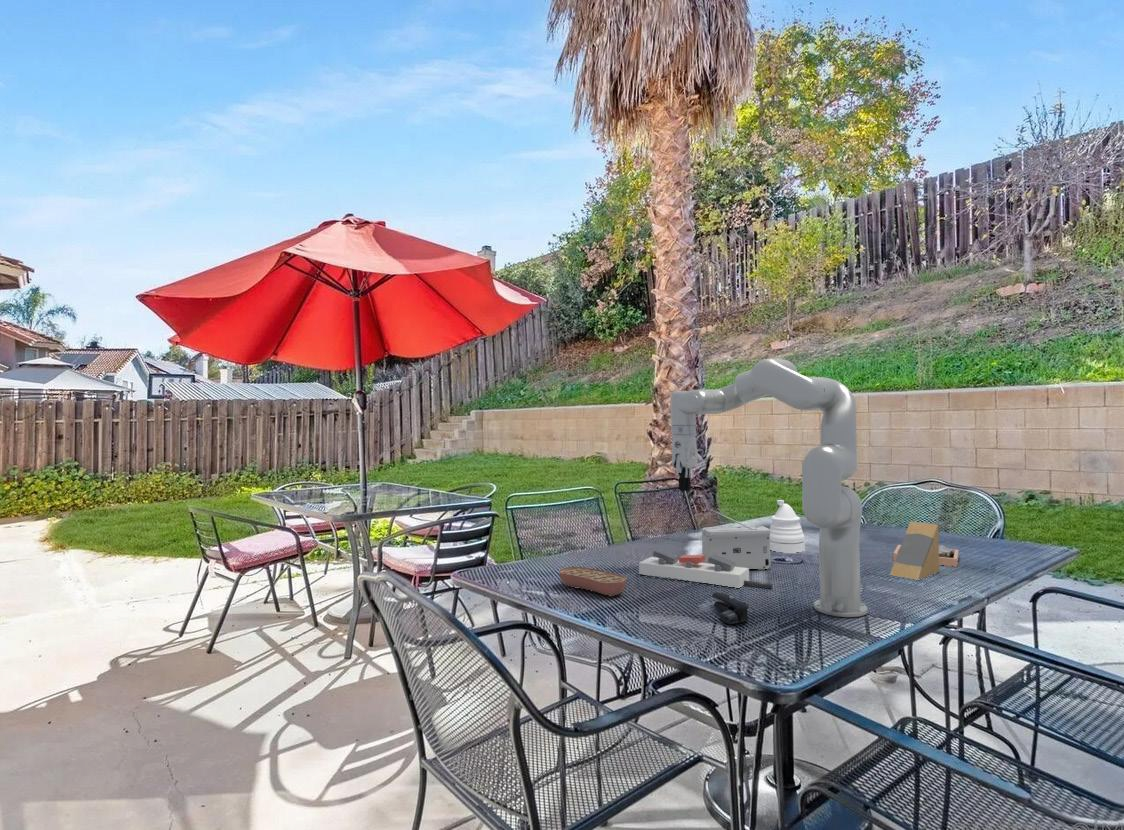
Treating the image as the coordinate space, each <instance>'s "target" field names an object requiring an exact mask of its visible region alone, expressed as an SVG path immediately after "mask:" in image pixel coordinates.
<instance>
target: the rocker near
mask: <svg viewBox="0 0 1124 830" xmlns="http://www.w3.org/2000/svg"><path fill="white" fill-rule="evenodd" d="M708 562H709V563H711V564H714V565H719V566H721V567H722V568H724V569H727V570H729V571H730V570H732V569H733V568H734V567H735V562H732V561H730V560H727V559H725V558H722V557H719V556H717V555H714V554H713V555H712V556H710V557H709V559H708Z"/></svg>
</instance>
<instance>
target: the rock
mask: <svg viewBox="0 0 1124 830" xmlns="http://www.w3.org/2000/svg"><path fill="white" fill-rule="evenodd" d="M939 557H946V558H954V551H952V549H951V548H949V547H947V546H945V545H942V544H941V545H939Z"/></svg>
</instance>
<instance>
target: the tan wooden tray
mask: <svg viewBox="0 0 1124 830" xmlns="http://www.w3.org/2000/svg"><path fill="white" fill-rule="evenodd" d="M901 545H902V544H897V546H896V548H895V550H894V552H893V553H892V554H893V561H894V562H895V560H896V558H897V555H898V553H899V550H900V548H901ZM952 551H954V558H946V557H939V566H941V565H944V566H943V567H952V566H953V568H958V562H959V549H954V548H953V549H952Z"/></svg>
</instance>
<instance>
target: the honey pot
mask: <svg viewBox="0 0 1124 830" xmlns="http://www.w3.org/2000/svg"><path fill="white" fill-rule="evenodd" d="M776 503H777V506H779V507H778V508H777V510H776V512H775V513H774V515H771V517H770V519H771V520H772V521H771V524H770V525H769V526H770V527H769V529H770V532H771V533H770V550H772V551H771V552H773V551H776V552H775V553H778V552H783V553H782V554H797V553H796V552H802V551H804V552H805V551H806V541H805V538H806V536H805V534H804V532H803V531H804V530H803V529H802V528H803V527H802V525H801V524H800V520H801V517H800V516H798V515H797V514H796V511H794V509H793V508H792V507H791V505H789V504H788V503H785V500H784V499H777V500H776ZM802 553H803V552H802Z"/></svg>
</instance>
